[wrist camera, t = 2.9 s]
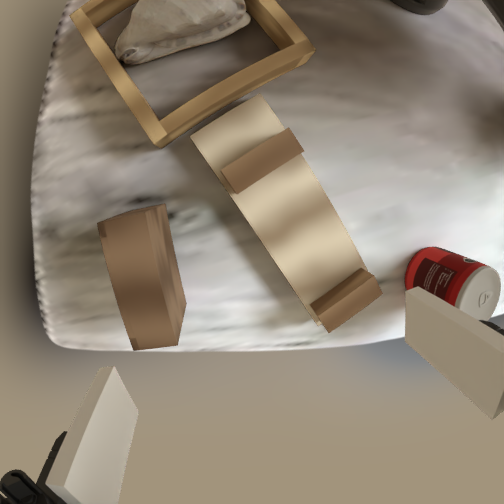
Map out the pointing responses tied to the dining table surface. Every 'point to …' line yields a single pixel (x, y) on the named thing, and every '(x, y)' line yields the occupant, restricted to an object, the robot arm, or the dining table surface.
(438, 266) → the canned food
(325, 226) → the ledge
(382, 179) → the dining table surface
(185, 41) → the seashell
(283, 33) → the shell cradle
